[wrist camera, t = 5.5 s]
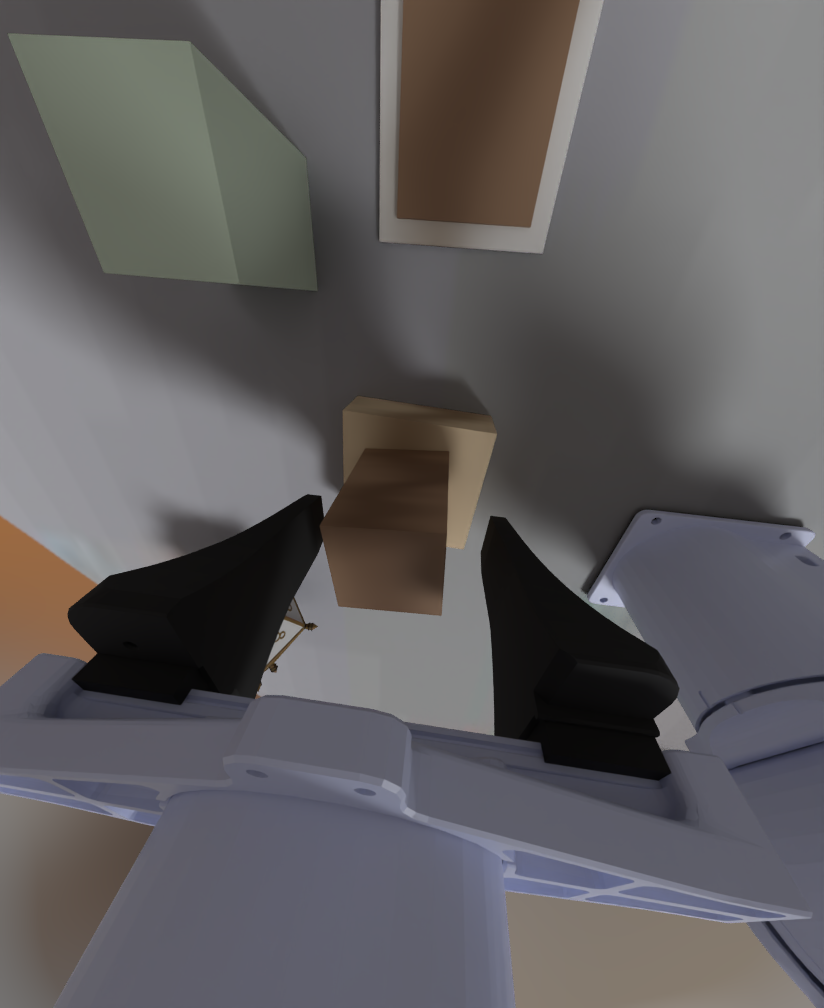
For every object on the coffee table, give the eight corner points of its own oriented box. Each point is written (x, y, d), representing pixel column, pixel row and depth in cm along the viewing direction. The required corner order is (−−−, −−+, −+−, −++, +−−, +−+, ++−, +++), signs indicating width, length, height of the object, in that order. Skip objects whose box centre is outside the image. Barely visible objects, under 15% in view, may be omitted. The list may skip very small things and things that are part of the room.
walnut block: (449, 451, 14) (447, 533, 9) (445, 519, 16) (441, 615, 11) (365, 448, 14) (319, 525, 9) (372, 515, 17) (338, 606, 12)
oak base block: (490, 413, 16) (497, 433, 13) (462, 518, 20) (463, 549, 17) (359, 393, 16) (342, 410, 14) (357, 501, 20) (344, 529, 17)
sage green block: (306, 158, 11) (189, 41, 6) (317, 291, 13) (239, 284, 8) (202, 151, 11) (7, 33, 6) (230, 283, 13) (104, 273, 9)
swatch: (614, -50, 8) (621, -65, 8) (541, 254, 12) (543, 252, 11) (382, -56, 8) (380, -70, 8) (380, 242, 12) (378, 240, 12)
